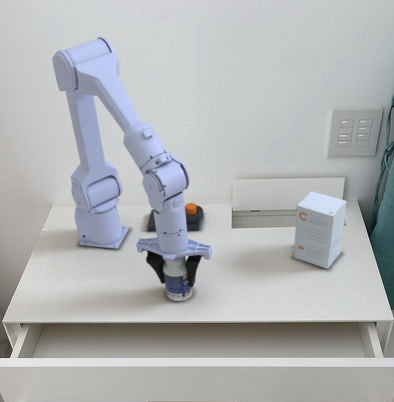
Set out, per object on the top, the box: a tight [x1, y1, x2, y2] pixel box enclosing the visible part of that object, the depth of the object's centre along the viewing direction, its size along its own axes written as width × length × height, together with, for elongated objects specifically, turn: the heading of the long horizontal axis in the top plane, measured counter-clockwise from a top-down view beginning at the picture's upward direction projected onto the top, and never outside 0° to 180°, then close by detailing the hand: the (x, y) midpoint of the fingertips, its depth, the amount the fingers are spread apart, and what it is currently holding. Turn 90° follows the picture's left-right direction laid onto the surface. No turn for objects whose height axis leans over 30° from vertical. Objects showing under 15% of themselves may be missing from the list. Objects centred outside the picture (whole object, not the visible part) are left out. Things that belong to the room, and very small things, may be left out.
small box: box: [293, 190, 348, 270], centre depth 118 cm, size 8×6×13 cm
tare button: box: [185, 202, 197, 215], centre depth 132 cm, size 3×3×2 cm
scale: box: [147, 204, 204, 232], centre depth 134 cm, size 13×7×3 cm, turn 85°
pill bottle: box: [163, 256, 193, 302], centre depth 114 cm, size 5×5×10 cm
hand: (178, 282), depth 115 cm, fingers closed on pill bottle, 5 cm apart
